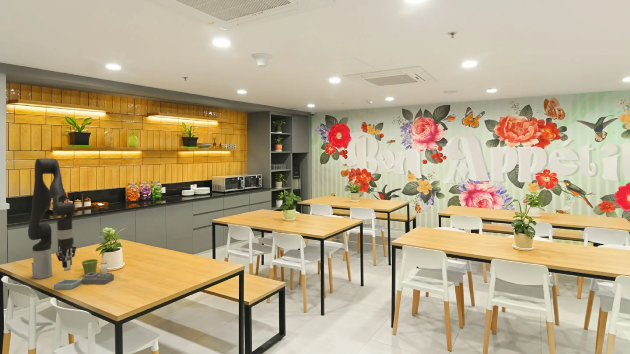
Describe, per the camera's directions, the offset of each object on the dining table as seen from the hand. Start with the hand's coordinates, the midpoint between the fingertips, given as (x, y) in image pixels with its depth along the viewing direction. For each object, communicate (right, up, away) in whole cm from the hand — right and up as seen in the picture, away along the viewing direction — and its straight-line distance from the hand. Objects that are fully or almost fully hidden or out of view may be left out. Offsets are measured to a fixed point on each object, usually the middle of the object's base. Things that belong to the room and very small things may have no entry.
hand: (67, 266), depth 216 cm
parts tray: (0, -12, +1) cm, 12 cm away
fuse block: (+13, -11, +9) cm, 19 cm away
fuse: (+17, -8, +8) cm, 21 cm away
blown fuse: (0, -2, 0) cm, 2 cm away
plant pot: (+1, -11, +21) cm, 24 cm away
